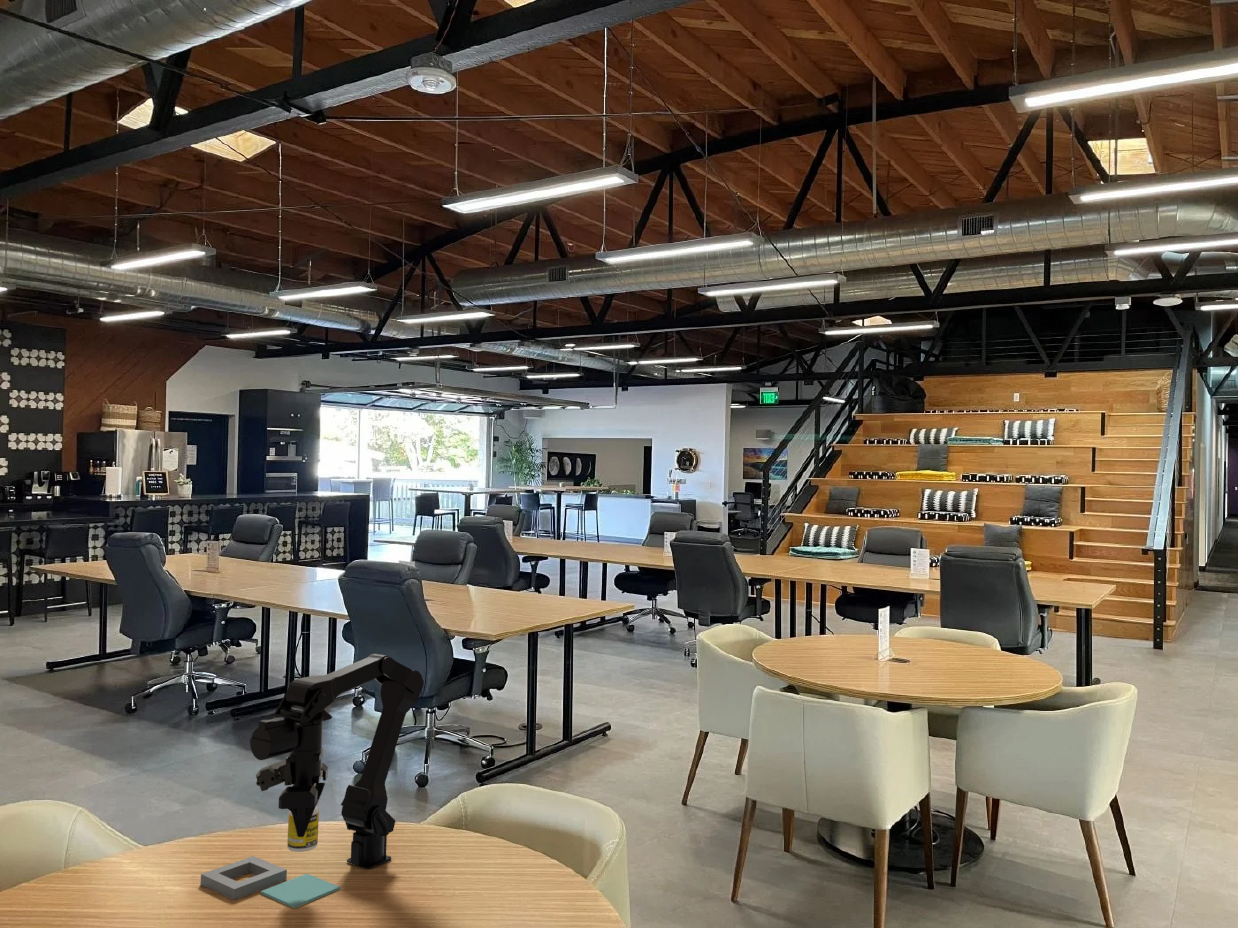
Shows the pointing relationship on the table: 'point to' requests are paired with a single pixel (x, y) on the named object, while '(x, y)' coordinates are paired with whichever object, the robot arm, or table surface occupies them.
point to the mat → (300, 890)
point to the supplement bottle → (309, 838)
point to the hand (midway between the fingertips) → (303, 830)
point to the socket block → (232, 889)
